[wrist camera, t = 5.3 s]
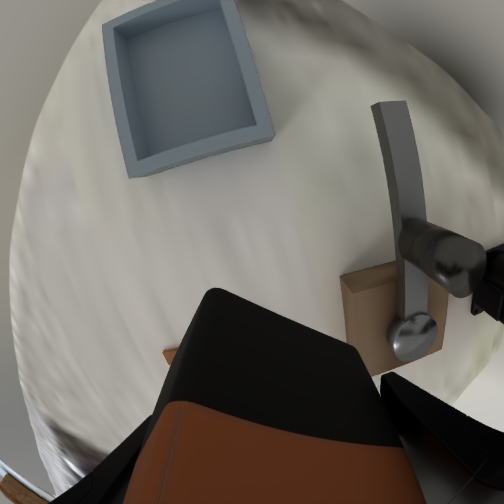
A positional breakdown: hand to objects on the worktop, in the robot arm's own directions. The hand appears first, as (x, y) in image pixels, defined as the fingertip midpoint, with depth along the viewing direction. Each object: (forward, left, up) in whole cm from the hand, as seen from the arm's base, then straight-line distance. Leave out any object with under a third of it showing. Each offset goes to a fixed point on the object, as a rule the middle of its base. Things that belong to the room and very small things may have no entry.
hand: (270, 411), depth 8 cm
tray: (+2, -15, -12) cm, 19 cm away
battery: (0, 0, -3) cm, 3 cm away
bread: (+129, +85, -12) cm, 155 cm away
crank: (-9, -1, -9) cm, 13 cm away
